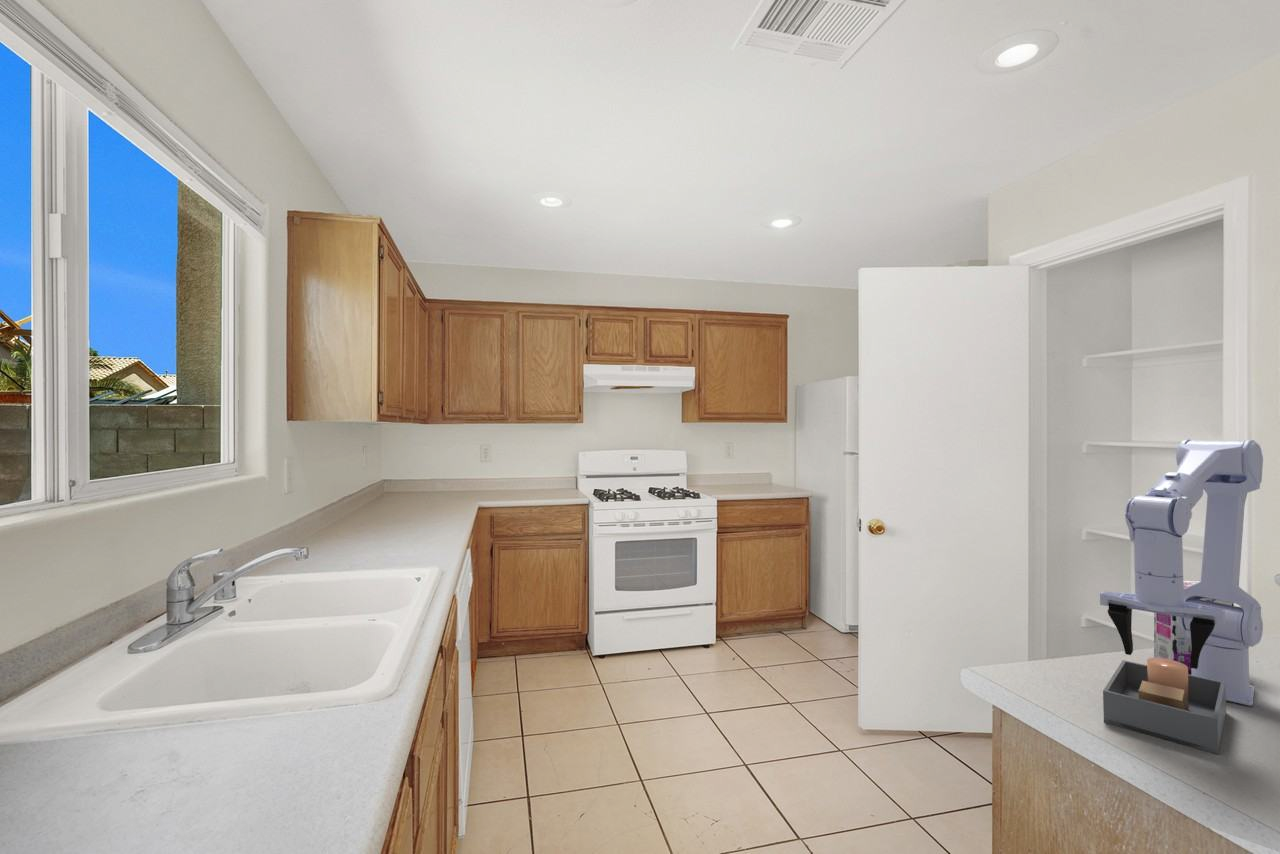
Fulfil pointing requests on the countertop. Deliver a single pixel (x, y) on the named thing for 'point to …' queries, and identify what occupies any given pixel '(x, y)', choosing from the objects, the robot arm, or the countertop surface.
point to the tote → (1167, 709)
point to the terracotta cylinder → (1169, 675)
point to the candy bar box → (1174, 635)
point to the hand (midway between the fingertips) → (1160, 659)
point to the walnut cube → (1162, 694)
